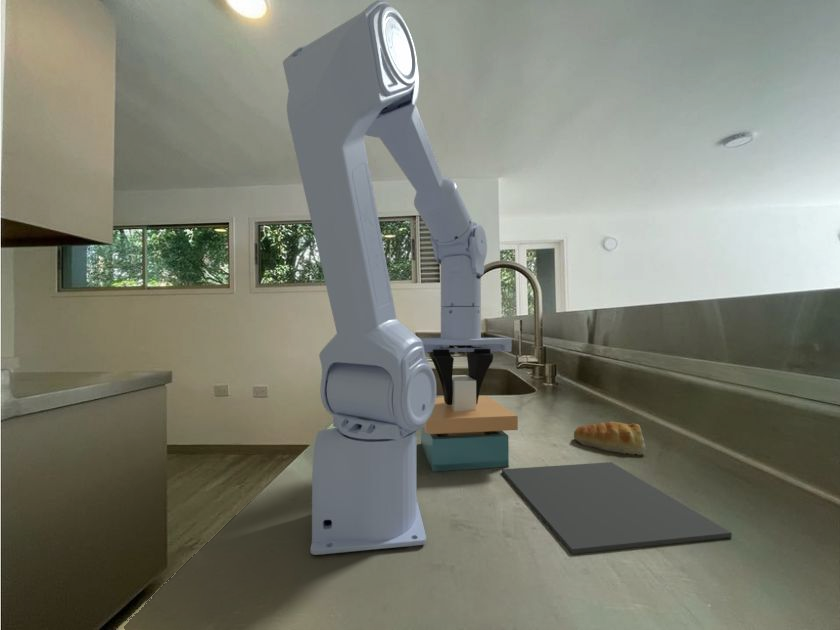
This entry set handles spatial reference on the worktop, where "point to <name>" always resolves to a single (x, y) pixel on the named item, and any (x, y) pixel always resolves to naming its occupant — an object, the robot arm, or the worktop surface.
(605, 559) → the worktop surface
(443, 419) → the lid
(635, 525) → the mat
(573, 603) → the worktop surface
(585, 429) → the pastry
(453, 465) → the box
